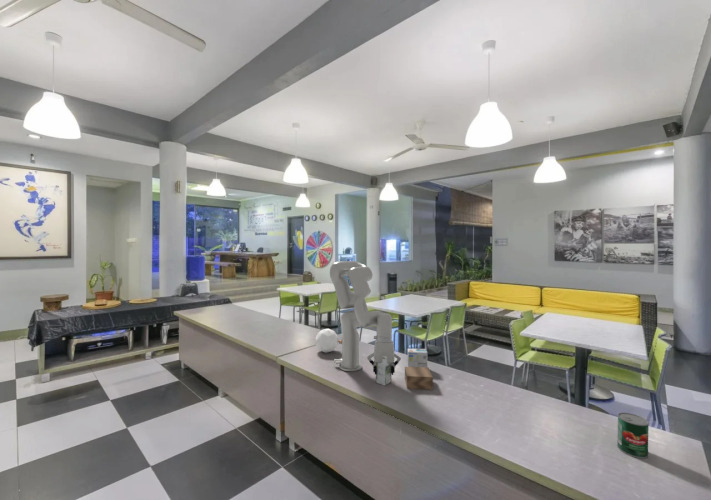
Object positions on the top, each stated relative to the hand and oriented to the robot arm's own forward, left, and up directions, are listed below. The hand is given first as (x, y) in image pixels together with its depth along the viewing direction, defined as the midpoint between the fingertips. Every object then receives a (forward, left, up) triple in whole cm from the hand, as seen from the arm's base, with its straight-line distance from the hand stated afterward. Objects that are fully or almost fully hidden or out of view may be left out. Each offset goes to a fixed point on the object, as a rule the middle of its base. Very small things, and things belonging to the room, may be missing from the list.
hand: (383, 373), depth 160 cm
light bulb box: (+19, +19, -5) cm, 27 cm away
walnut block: (+17, 0, -5) cm, 18 cm away
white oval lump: (-33, +44, -5) cm, 55 cm away
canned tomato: (+82, -47, -5) cm, 95 cm away
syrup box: (0, 0, -5) cm, 5 cm away
